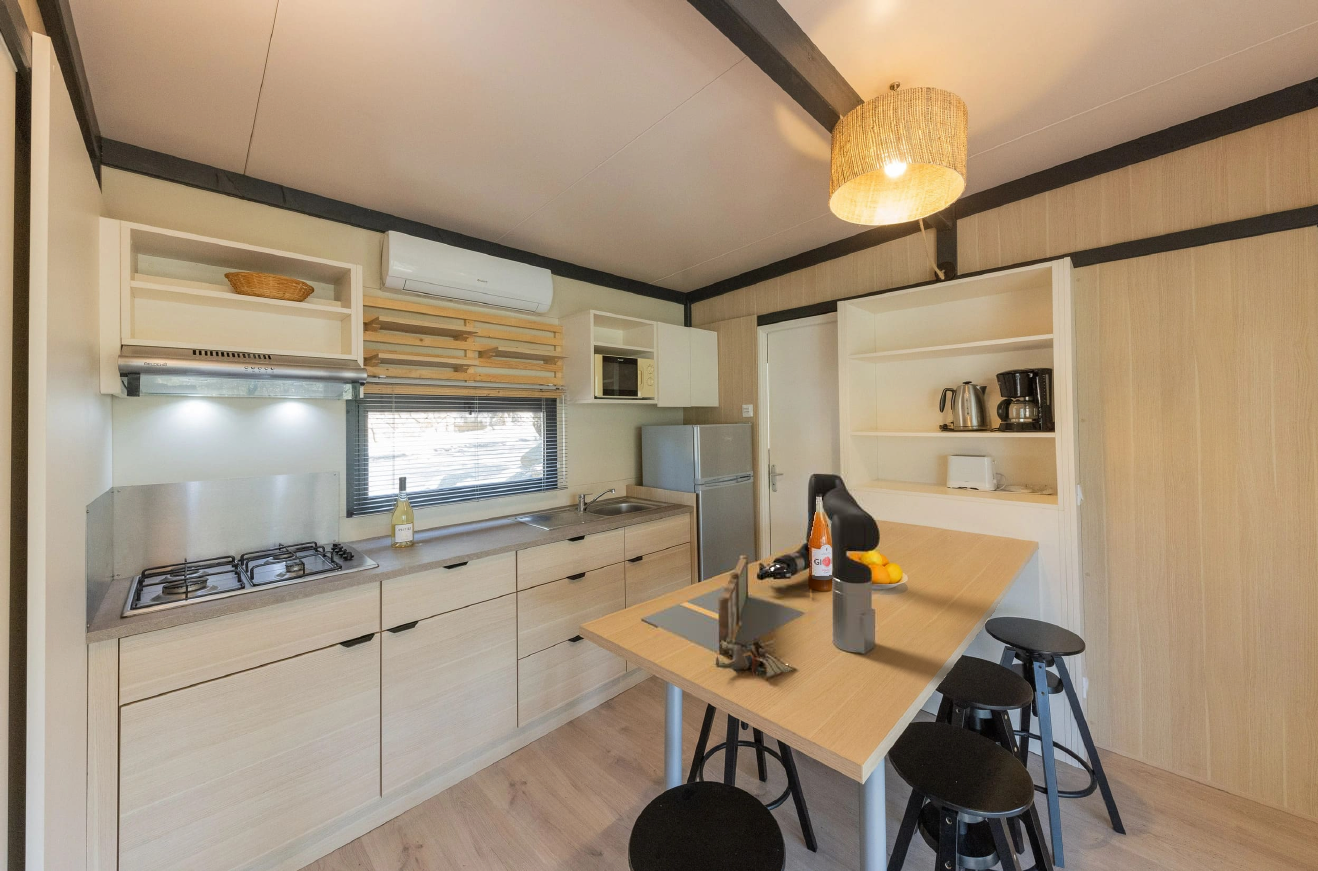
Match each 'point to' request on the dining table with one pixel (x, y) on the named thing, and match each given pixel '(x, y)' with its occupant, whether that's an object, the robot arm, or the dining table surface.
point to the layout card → (702, 619)
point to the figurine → (753, 658)
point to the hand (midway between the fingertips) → (759, 576)
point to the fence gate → (742, 580)
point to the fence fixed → (728, 611)
